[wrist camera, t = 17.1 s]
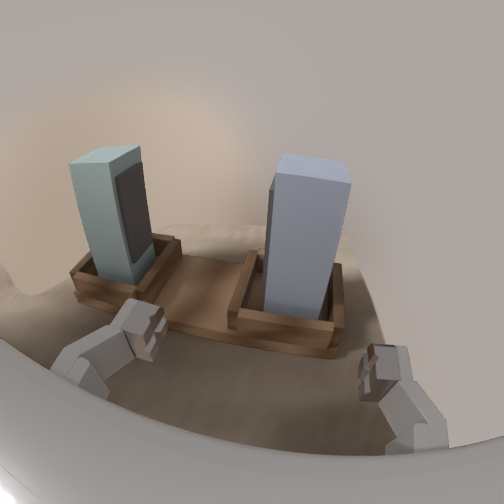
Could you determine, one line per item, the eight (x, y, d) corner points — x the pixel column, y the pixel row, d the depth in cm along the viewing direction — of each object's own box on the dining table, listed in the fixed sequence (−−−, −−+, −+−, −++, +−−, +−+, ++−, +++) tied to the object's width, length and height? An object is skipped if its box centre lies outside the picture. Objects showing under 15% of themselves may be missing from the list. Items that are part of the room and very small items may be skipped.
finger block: (258, 318, 26) (269, 171, 18) (267, 283, 30) (278, 152, 22) (315, 326, 26) (351, 183, 17) (317, 291, 30) (344, 161, 21)
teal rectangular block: (101, 282, 29) (68, 163, 21) (122, 257, 33) (101, 147, 25) (140, 292, 28) (112, 162, 20) (159, 264, 32) (143, 145, 24)
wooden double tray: (78, 301, 28) (66, 275, 26) (119, 252, 36) (113, 227, 34) (333, 359, 24) (345, 332, 22) (333, 288, 32) (341, 261, 30)
